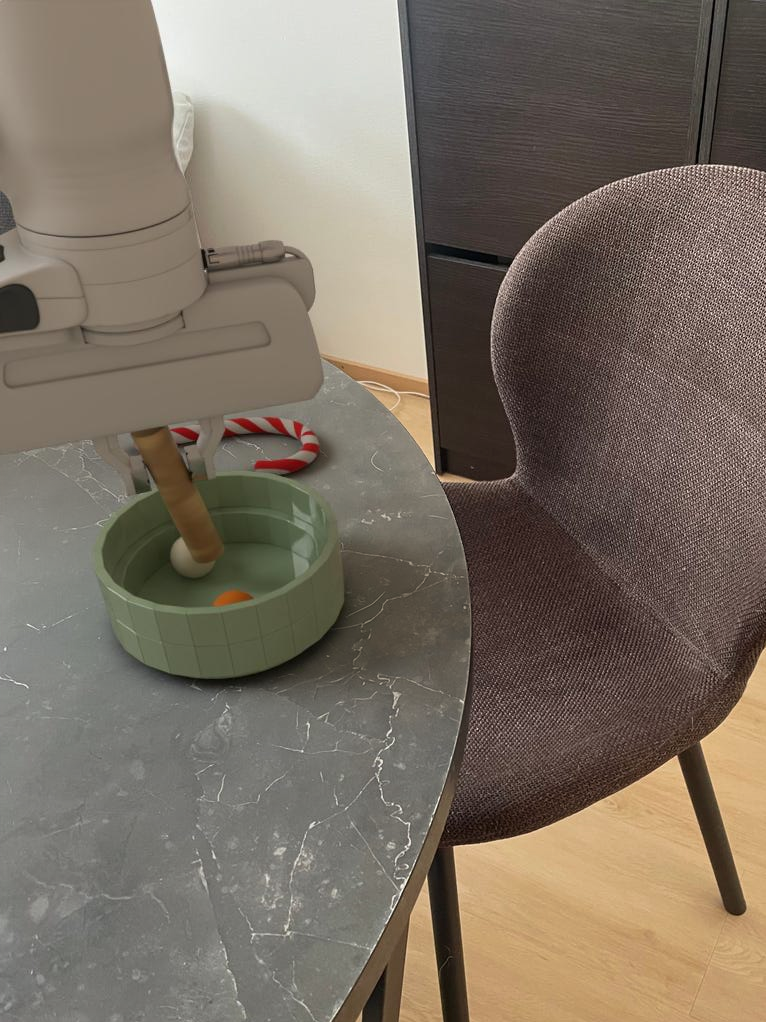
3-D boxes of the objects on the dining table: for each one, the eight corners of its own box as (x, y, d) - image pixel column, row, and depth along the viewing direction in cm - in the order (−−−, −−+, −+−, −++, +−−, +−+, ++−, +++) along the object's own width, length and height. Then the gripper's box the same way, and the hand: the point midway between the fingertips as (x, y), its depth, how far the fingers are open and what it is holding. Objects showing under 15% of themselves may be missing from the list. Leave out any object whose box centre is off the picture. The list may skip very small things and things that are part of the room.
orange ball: (219, 651, 66) (211, 615, 64) (212, 622, 68) (204, 586, 66) (267, 640, 66) (260, 604, 64) (257, 612, 68) (251, 576, 66)
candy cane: (140, 416, 86) (321, 413, 87) (143, 430, 87) (323, 426, 88) (120, 467, 81) (314, 463, 81) (124, 481, 81) (316, 477, 82)
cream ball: (206, 592, 71) (163, 580, 70) (207, 563, 73) (165, 550, 72) (222, 561, 69) (178, 548, 68) (222, 532, 71) (179, 519, 70)
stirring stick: (195, 568, 68) (132, 442, 61) (189, 550, 69) (127, 424, 62) (227, 556, 68) (168, 428, 61) (220, 537, 70) (162, 411, 63)
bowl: (127, 712, 63) (104, 637, 59) (105, 566, 73) (83, 495, 69) (371, 654, 67) (364, 580, 63) (316, 523, 77) (307, 454, 73)
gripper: (296, 216, 60) (322, 427, 69) (-85, 267, 55) (-2, 488, 64) (322, 255, 56) (346, 475, 65) (-89, 315, 51) (0, 545, 60)
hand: (170, 482), depth 65 cm, fingers closed on stirring stick, 2 cm apart
